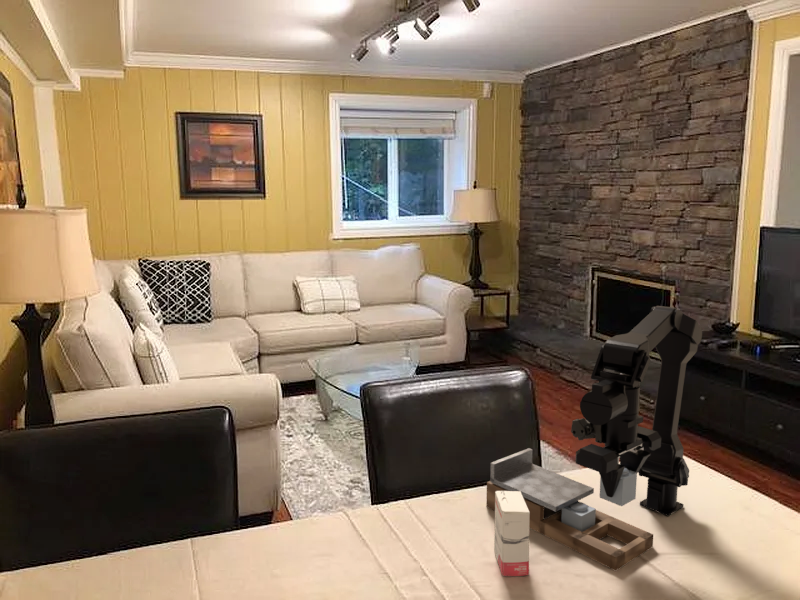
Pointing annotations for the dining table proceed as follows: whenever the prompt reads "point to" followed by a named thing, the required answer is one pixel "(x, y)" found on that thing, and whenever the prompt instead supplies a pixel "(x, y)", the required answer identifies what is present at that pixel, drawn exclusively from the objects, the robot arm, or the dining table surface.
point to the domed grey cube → (622, 489)
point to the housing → (586, 533)
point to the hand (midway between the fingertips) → (617, 492)
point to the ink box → (511, 533)
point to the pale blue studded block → (579, 516)
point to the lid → (537, 481)
